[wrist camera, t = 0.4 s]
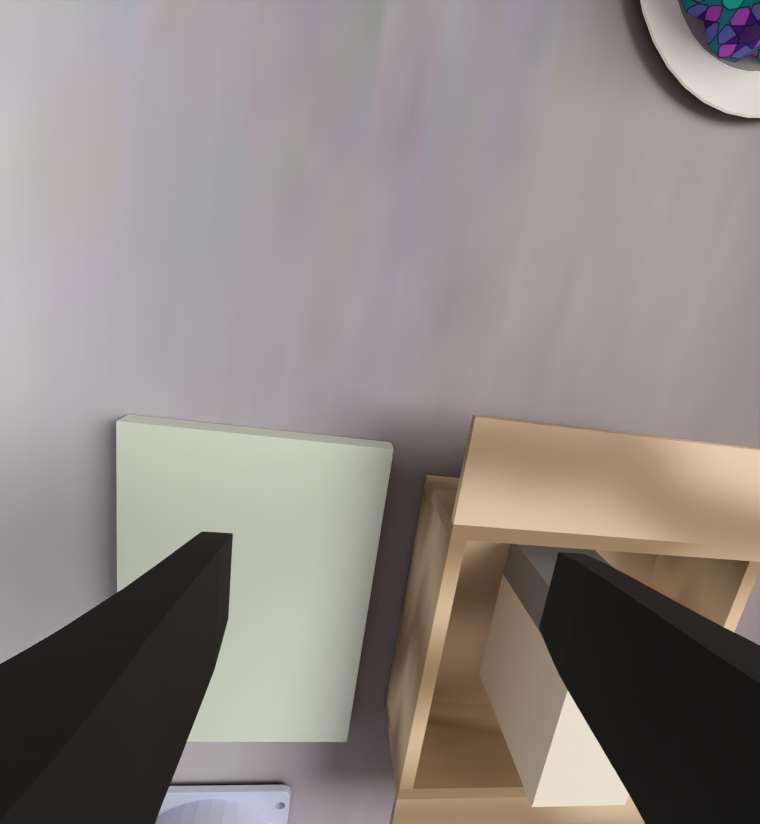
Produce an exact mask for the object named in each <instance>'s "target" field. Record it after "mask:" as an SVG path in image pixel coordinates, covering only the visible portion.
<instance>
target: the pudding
mask: <svg viewBox="0 0 760 824" xmlns="http://www.w3.org/2000/svg"><path fill="white" fill-rule="evenodd" d="M681 1H682V4H683V6H684V8H685V10H686V12H687V13H688V14H690V15H692V16H694V17H697V18H699V19H701V20H703V21H704V24H705V32H706V40H707V45H708V46H709V47H710V48H711V49H712V50H713V52H714V53H715V54H716V55H717V56H718V57H719V58H722V59H725V60H728V61H731V62H736V61H738V60H740V59H743V58H745V57H747V56H749V55H751V54H754V55H755V56H756V57H757V58H758V59H759V60H760V0H681ZM640 3H641V8H642V12H643V15H644V18H645V21H646V24H647V26H648V29H649V32H650V35H651V38H652V41H653V43H654V44H655V46H656V48H657V50H658V52H659V53H660V55H661V57H662V59H663V61H664V62H665V64H666V66H667V67H668V69H669V70H670V71H671V72H672V73H673V75H674V76H675V77H676V78H677V79H678V81H679V82H680V83H681V84H682V85H683V86H684V88H686V89H687V90H688V91H690V92H691V93H692V94H693V95H695V96H696V97H697V98H698V99H700V100H701V101H702V102H704V103H705V104H708V105H710V106H712V107H714V108H716V109H718V110H720V111H722V112H724V113H728V114H733V115H737V116H742V117H747V118H760V71H745V70H741V69H737V68H733V67H731V66H729V65H727V64H725V63H722V62H720V61H718V60H717V59H716V58H715V57H713V56H712V55H711V54H710V53H708V52H707V51H706V50H705V49H704V48H703V47H702V46H701V44H700V43H699V42H698V41H697V39H696V38H695V37H694V36H693V34H692V33H691V31H690V29H689V27H688V25H687V23H686V21H685V19H684V17H683V15H682V12H681V9H680V6H679V3H678V0H640Z"/></svg>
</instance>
